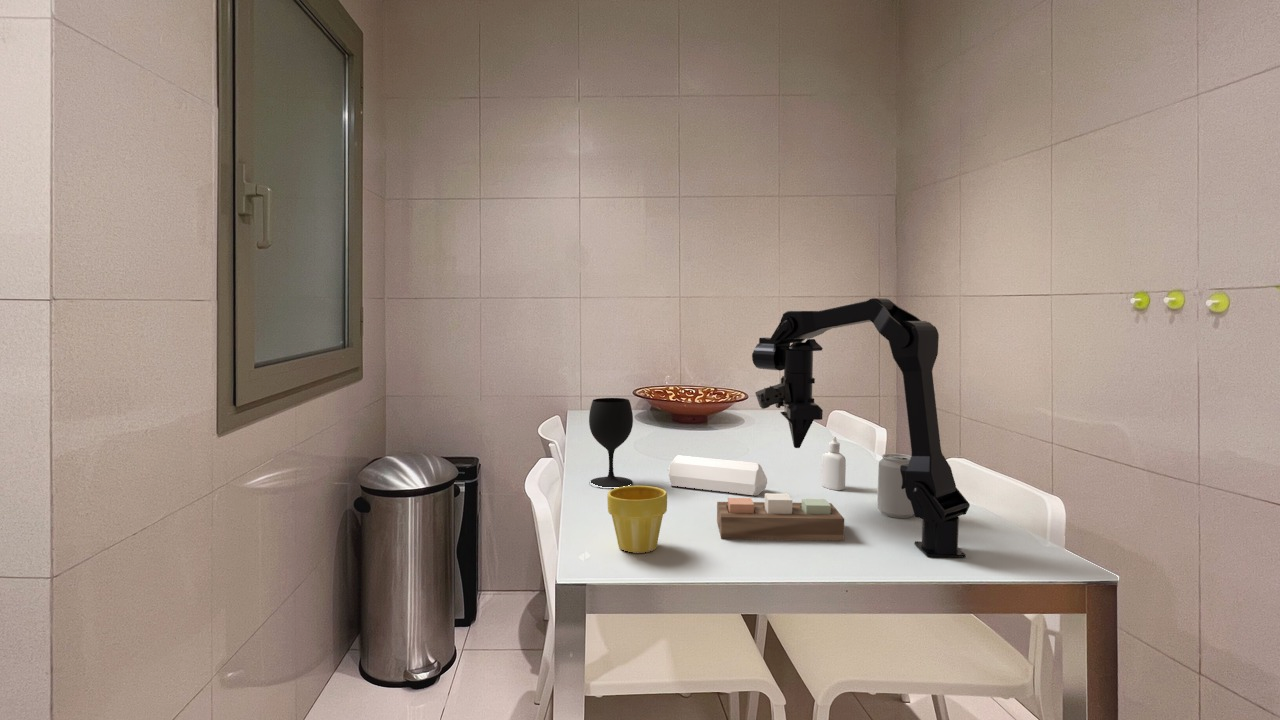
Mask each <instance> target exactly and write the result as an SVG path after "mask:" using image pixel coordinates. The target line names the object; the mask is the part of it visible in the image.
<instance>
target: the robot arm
mask: <svg viewBox="0 0 1280 720" xmlns="http://www.w3.org/2000/svg"><path fill="white" fill-rule="evenodd" d="M869 322H870V323H872V324H873V326H874V327H875V328H876V331H877V332H878V333H879V334H880V335H881V336H882V337H884V339H886V340H887V341H888V344H889V347H890V351H891V355H892V358H893V360H894V362H895V364H896V365H897V366H898V368H899V369H900V371H901V373H902V379H903V380H902V381H903V386H904V387H903V388H904V396H905V398H904V399H905V406H906V415H907V423H908V434H909V441H910V449H911V452H910V453H911V455H910V456H911V458H910V461H909V464H904V465H901V466H900V471H901V475H902V487H901V488H902V489H905V493H906V496H907V498H908V500H910V501H911V504H912V508H913V511H914V514H913V515H914V517H915V518H916V519H920V520H922V523H921V541H918V540H917V541H916V540H915V541H914V543H913V545H914V546H915V547H916V548H917V549H919V550H920V551H921V552H922V553H923V554H924V555H925V556H926V557H929V558H930V557H931V558H935V557H936V558H966V556H967V554H966V553H965V552H964V551H963V550H962V549H960V548H959V527H960V526H959V524H960V523H959V522H960V516H965V515H966V514H967V513H968V511H969V508H970V506H971V505H970V502H969V501H968V500H967V499H966V497H964V495H963V494H962V493H961V492H960V490H959V489H958V488H957V485H956V482H955V477H954V474H953V470H952V467H951V465H950V464H949V463H948V461H947V459H946V458H945V456H944V454H943V452H942V447H941V439H940V428H939V421H938V411H937V402H936V392H935V386H934V385H935V383H934V376H933V371H934V370H933V369H934V365H935V363H936V360H937V357H938V356H939V355H938V354H939V341H940V340H939V337H940V336H939V332H938V329H937V327H936V326H935V325H933V324H932V323H931V322H929V321H926V320H921V319H920V318H919V317H917V316H916V315H914V314H913V313H910V312H908V311H907V310H905V309H904V308H901V307H899V305H897V304H896V303H894V302H893V301H892V300H890V299H889V298H882V297H881V298H880V297H879V298H875V297H873V298H869V299H868V300H864V301H859V302H855V303H850V304H846V305H841V306H836V307H832V308H826V309H823V310H787V311H785V312H784V313H783V314H782V316H781V319H780V322H779V323H778V325H777V326H776V328H775V329H774V332H773V333H772V335H771V336H770V337H759V339H758V343H757V344H756V345H755V347H754V349H753V351H752V353H751V359H752V363H753V366H754V367H756V368H757V369H761V370H769V371H770V370H771V371H783V375H781V377H780V383H778V384H775V385H769V387H764V388H763V389H760V390H758V391H757V390H756V391H755V393H754V394H755V397H756V400H757V401H758V405H759V407H760V408H761V409H763V410H764V409H767V408H768V409H769V408H770V406H773V405H775V407H776V408H777V409H780V408H781V407H784V411H780V414H781V415H782V416H783V417H784V418H785V419H786V420H787V421H788V426H789V431H790V436H791V440H792V445H793V447H794V449H801V447H802V444H803V442H804V440H805V437H806V436H807V434H808V432H809V430H810V427H811V426H812V424H813V423H814V421H821V420H823V414H824V413H823V412H824V411H823V409H822V407H820V405H818V404H817V403H815V398H813V384H815V383H816V380H815V379H816V378H814V377H813V374H814V371H813V370H814V368H813V367H814V365H813V364H814V363H813V362H814V352H820V351H823V349H824V348H823V347H822V346H821V345H820V344H819V343H818V342H817V341H816V339H815V337H818V336H820V335H822V334H824V333H826V332H828V331H829V330H832V329H837V328H842V327H848V326H854V325H860V324H864V323H869ZM805 340H806V341H805ZM804 341H805V342H804Z"/></svg>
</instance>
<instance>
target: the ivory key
mask: <svg viewBox="0 0 1280 720" xmlns="http://www.w3.org/2000/svg"><path fill="white" fill-rule="evenodd" d="M764 502H765V511H766V513H767V514H792V503H793V499H792V497H791V496H790V495H789V493H767V492H766V493H764Z"/></svg>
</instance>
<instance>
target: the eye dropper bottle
mask: <svg viewBox="0 0 1280 720" xmlns="http://www.w3.org/2000/svg"><path fill="white" fill-rule="evenodd" d="M840 444H841V443H840V442H839V441H837V436H833V437H832V440H831V441H829V442H828V452H827V451H826V452H825V453H823V454H822V457H821V459H822V460H821V486H822V487H823V488H825V489H829V490H832V491H843V490H845V489H846V471H847V470H846V469H847V468H846V466H847V465H846V464H847V463H846V457H845V456H844V455H843V454H842V453H840Z"/></svg>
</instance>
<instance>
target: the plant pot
mask: <svg viewBox="0 0 1280 720" xmlns="http://www.w3.org/2000/svg"><path fill="white" fill-rule="evenodd" d="M667 511H668V493H667V491H666V490H665V489H663V488H661V487H656V486H649V485H631V486H625V487H619V488H615V489H609V491H608V492H607V512H608V514H609V515H610V516H611V519H612V522H613V526H614V531H615V536H616V541H617V545H618V548H619V550H621V549H622V550H624V551H623V552H625V551H628V552H627V553H629V552H633V553H632V554H645V552H646V553H650V551H651V552H653V551H654V550H656V549H657V547H658V542H659V536H660V531H661V527H662V521H663V518H664V516H663V515H665V514H666V513H667ZM622 550H621V551H622Z"/></svg>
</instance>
